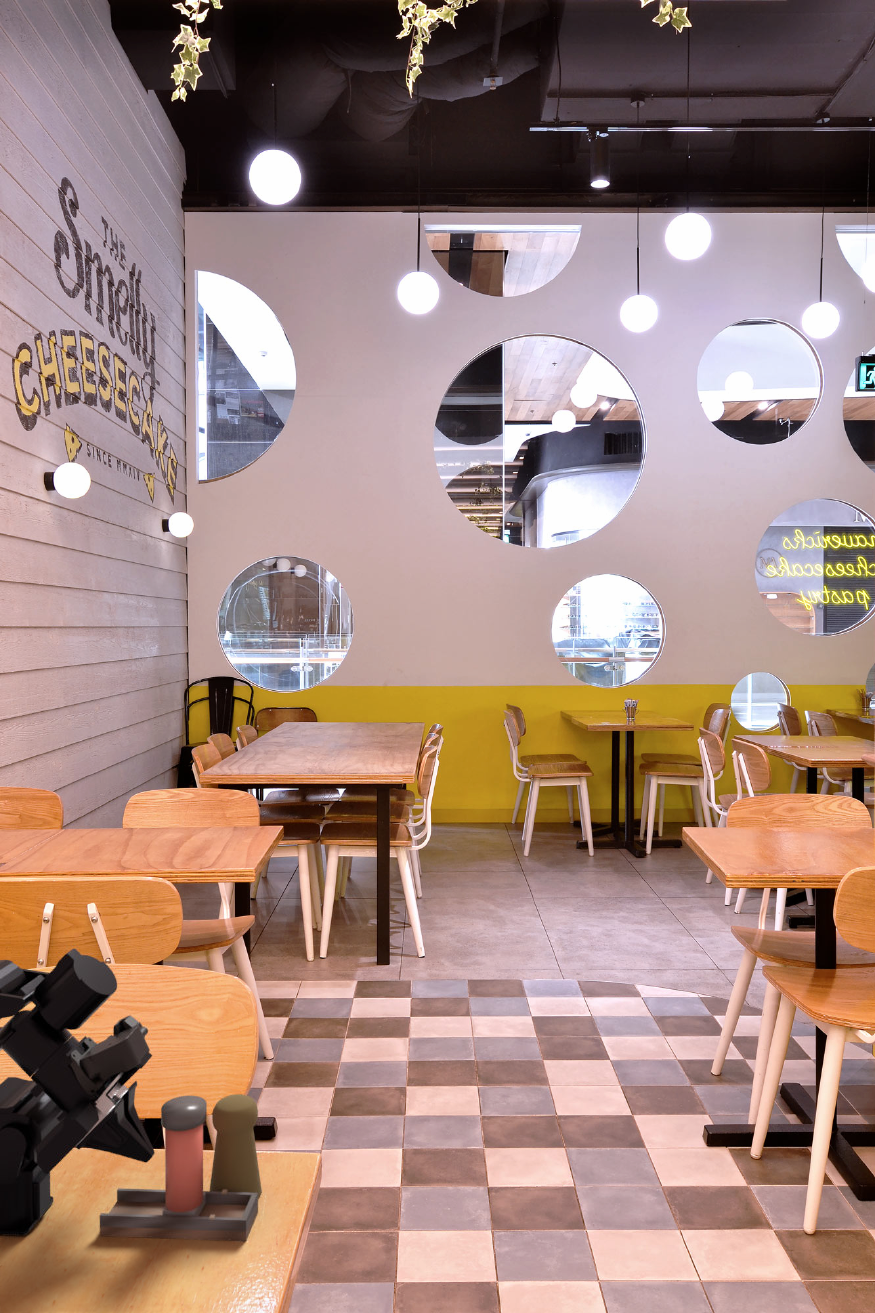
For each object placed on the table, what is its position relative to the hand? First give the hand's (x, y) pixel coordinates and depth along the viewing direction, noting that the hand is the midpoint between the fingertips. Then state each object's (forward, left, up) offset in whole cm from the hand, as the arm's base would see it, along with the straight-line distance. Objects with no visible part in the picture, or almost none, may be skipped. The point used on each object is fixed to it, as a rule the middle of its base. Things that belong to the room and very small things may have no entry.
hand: (150, 1158), depth 102 cm
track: (+3, 0, -7) cm, 8 cm away
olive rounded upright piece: (+8, +6, -7) cm, 12 cm away
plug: (+4, 0, -6) cm, 7 cm away
